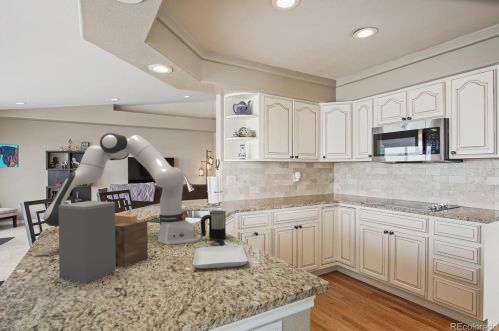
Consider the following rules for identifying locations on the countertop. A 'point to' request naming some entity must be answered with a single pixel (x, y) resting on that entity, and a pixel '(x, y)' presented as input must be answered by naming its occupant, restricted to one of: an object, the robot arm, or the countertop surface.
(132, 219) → the orange bar
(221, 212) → the milk frother
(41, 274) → the countertop surface
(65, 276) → the graphite cabinet
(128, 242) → the wooden grain cube
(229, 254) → the salad plate
